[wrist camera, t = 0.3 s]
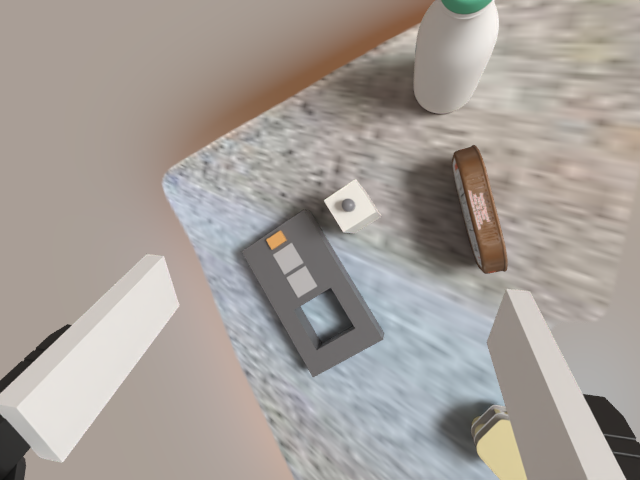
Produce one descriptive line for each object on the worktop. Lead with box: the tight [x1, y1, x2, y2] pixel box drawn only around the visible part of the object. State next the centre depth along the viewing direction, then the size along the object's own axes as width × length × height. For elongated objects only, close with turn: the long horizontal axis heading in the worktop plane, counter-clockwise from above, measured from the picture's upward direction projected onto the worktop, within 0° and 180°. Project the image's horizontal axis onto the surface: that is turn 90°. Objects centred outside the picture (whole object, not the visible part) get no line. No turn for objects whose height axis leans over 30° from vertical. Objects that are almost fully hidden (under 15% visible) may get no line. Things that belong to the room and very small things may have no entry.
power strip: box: [242, 210, 384, 377], centre depth 48 cm, size 20×11×4 cm, turn 32°
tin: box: [452, 145, 508, 274], centre depth 40 cm, size 15×3×8 cm, turn 13°
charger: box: [324, 179, 382, 233], centre depth 43 cm, size 4×4×10 cm
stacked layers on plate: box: [471, 405, 527, 480], centre depth 41 cm, size 10×9×6 cm
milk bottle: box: [414, 0, 499, 114], centre depth 35 cm, size 8×8×20 cm
